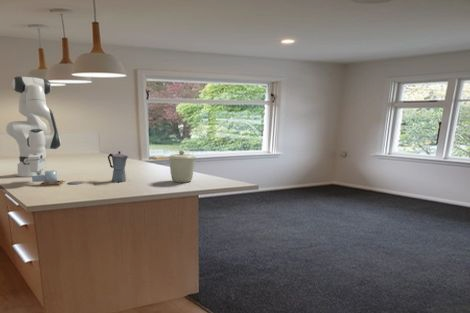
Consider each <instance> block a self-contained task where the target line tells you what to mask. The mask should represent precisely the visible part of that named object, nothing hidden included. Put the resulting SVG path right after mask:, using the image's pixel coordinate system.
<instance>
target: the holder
mask: <svg viewBox="0 0 470 313" xmlns="http://www.w3.org/2000/svg"><path fill="white" fill-rule="evenodd" d="M65 183H66V180H63V179H62V180H57V183H56V184H46V183H45V181H42V182H40V183H39V184H38V185H37V186H36V188H52V187H53V188H56V187H61V186H63V185H64V184H65Z"/></svg>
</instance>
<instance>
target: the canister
mask: <svg viewBox="0 0 470 313" xmlns="http://www.w3.org/2000/svg"><path fill="white" fill-rule="evenodd" d="M195 158H196V156H195V155H193V154H189V153H185V150H183V149H180V150H179V152H178V153H177V154H176V153H175V154H174V153H173V154H171V155H170V156H168V157H167V159H168V161H169V168H170V175H171V176H170V177H171V180H172V181H173V182H174V183H188V182H191V181H192V180H193V175H194V168H195Z"/></svg>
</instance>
